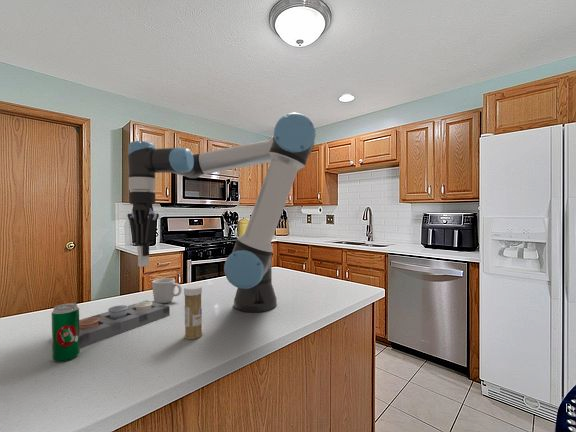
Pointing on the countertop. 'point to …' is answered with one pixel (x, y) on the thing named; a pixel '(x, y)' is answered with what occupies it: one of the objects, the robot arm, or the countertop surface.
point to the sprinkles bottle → (193, 311)
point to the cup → (165, 290)
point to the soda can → (65, 332)
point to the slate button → (118, 311)
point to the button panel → (122, 322)
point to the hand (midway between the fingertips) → (143, 265)
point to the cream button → (143, 306)
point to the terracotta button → (88, 322)
